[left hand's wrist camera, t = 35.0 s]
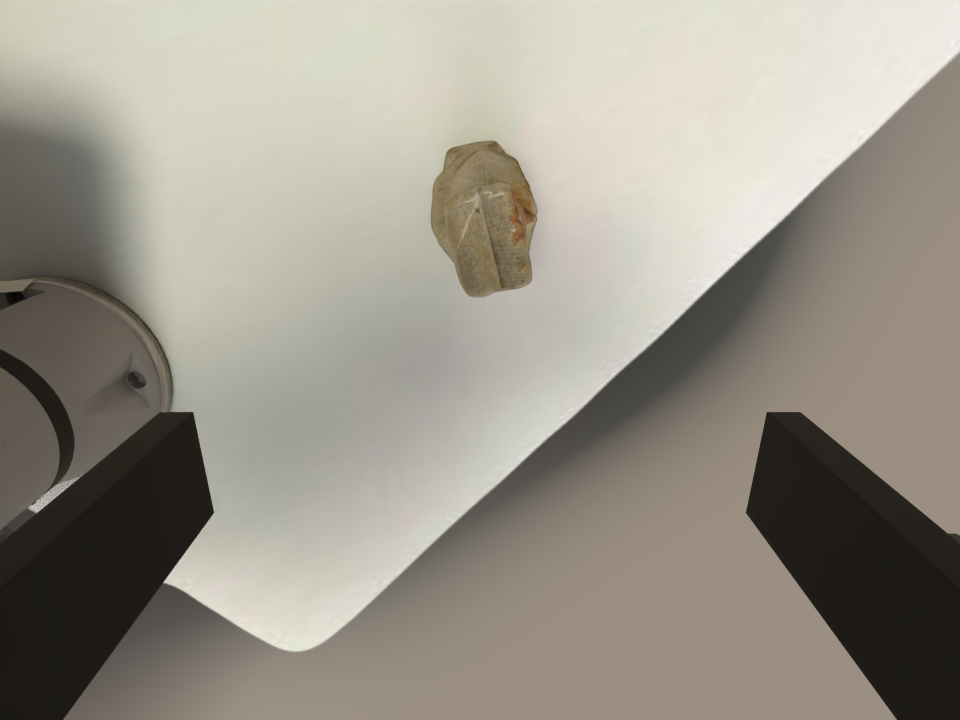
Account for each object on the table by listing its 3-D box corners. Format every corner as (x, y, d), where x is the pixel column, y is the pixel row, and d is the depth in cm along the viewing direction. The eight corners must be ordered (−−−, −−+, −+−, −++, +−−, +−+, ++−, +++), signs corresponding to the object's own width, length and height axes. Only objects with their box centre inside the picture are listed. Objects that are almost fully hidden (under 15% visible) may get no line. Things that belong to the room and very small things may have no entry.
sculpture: (450, 255, 40) (433, 314, 26) (431, 150, 37) (402, 151, 23) (530, 243, 39) (557, 295, 25) (517, 136, 37) (540, 128, 23)
